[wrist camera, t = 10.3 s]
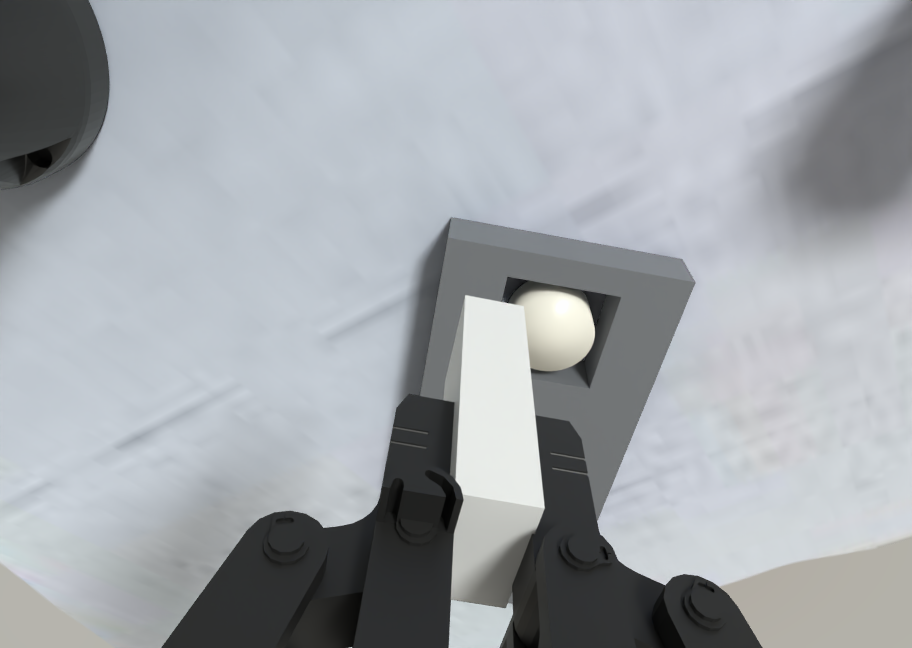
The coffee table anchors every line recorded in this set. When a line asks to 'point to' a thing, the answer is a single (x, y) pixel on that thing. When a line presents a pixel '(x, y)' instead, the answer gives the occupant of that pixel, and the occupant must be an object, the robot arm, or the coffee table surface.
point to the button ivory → (555, 324)
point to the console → (616, 333)
